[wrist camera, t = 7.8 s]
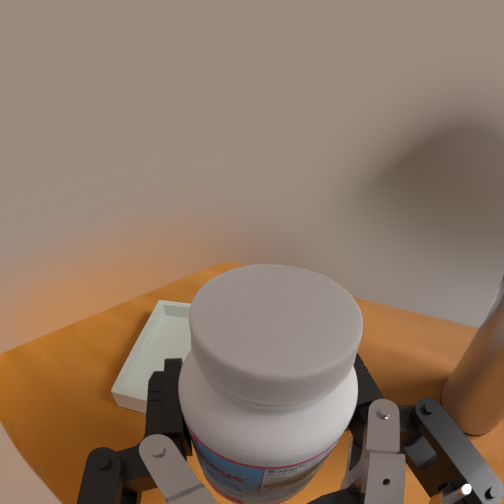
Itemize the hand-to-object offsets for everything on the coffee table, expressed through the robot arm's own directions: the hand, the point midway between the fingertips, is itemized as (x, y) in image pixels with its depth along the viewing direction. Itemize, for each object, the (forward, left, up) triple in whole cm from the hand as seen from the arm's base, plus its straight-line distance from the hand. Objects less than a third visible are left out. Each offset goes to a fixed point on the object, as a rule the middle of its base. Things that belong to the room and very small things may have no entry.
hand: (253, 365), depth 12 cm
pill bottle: (-1, +2, -6) cm, 7 cm away
